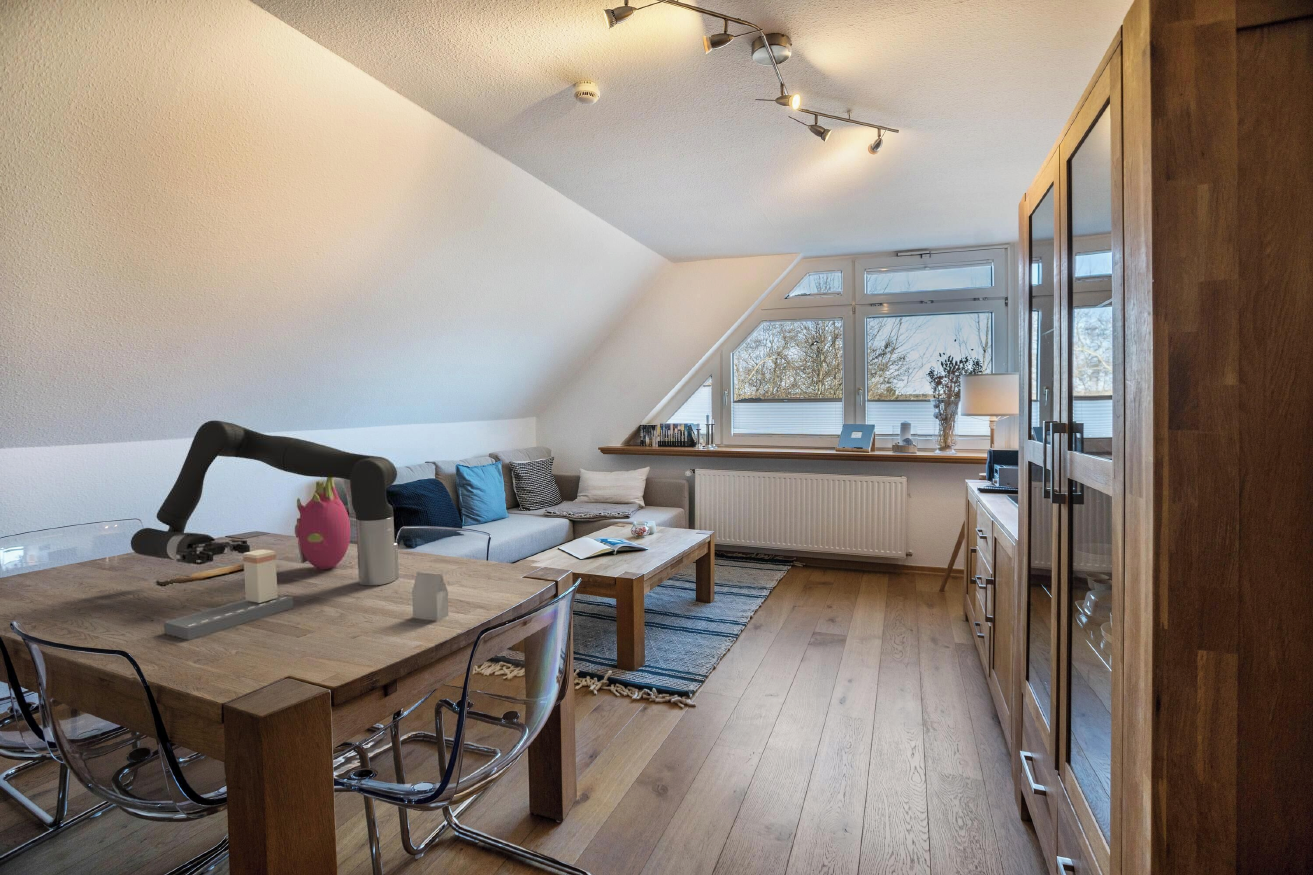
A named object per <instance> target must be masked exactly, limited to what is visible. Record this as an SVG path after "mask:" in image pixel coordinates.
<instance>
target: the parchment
mask: <svg viewBox="0 0 1313 875" xmlns="http://www.w3.org/2000/svg"><path fill="white" fill-rule="evenodd" d="M239 570H240V571H241V570H244V563H243V564H242V563H241V564H236V565H235V564H234V565H231V566H224V567H219V568H214V569H209V570H205V571H202V572H201V571H200V572H196V573H194V574H191V575H190V576H192V577H184V578H181V576H180V577H176V578H172V579H167V580H165V581H159V580H157V579H156V582H157V585H161V586H163V587H167V586H169V584H171V585H174V584H173V583H178V584H182V583H183V584H185V583H192V582H197V581H202V580H204V579H207V578H210V577H211V578H212V577H214V576H219V575H223V574H229V573H230V572H231V573H233V572H237V571H239ZM168 580H170V581H168ZM166 585H167V586H166Z"/></svg>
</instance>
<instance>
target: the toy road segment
mask: <svg viewBox="0 0 1313 875" xmlns="http://www.w3.org/2000/svg"><path fill="white" fill-rule="evenodd" d="M277 595H278V598H275V599H271V600H268V601H264V602H261V603H257V602H252V601H248V600H246V598H245V599H242V600H239V601H234V602H231V603H228V604H223V605H221V606H216V607H213V608H210V609H205V610H203V611H198V612H196V613H191V614H188V615H185V616H181V617H177V618H174V619H169V620H167V621H164V622H163V629H164V630H163V632H164V635H168V636H171V635H172V636H171V637H175V636H177V637H176V638H178V637H180V638H179V639H182V638H183V639H182V640H186V639H188V640H187V641H190V640H189V639H191V640H194V639H198V638H200V637H204V636H207V635H210V634H215V633H217V632H220V631H223V630H226V629H230V628H233V627H237V626H239V625H242V624H243V625H244V624H246V623H248V622H249V623H250V622H253V621H256V620H259V619H262V618H265V617H269V616H271V615H272V616H273V615H275V614H279V613H282V612H285V611H288V610H291V609H294V599H293V597H291V596H286V595H281V594H277Z"/></svg>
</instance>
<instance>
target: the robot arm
mask: <svg viewBox="0 0 1313 875" xmlns="http://www.w3.org/2000/svg"><path fill="white" fill-rule="evenodd" d="M217 457H225V458H226V457H227V458H239V459H247V460H254V461H258V462H261V463H263V464H266V465H267V466H270V467H272V468H275V469H277V470H280V471H283V472H285V473H291V474H294V475H299V476H304V477H313V478H327V477H329V478H333V479H343V480H349V486H350V496H351V505H352V510H353V511H354V513H355V526H356V548H357V571H358V574H357V575H358V584H359V585H361V586H379V585H381V586H382V585H385V584H389V583H393V582H394V581H396V580H397V579H400V572H399V570H400V569H399V546H398V543H397V542H395V526H394V525H395V524H394V508H393V506H392V505H391V504H390V503H389V502H388V499H387V489H388V488H390V487H391V486H392V485H393V484H394V483H395V481H397V478H398V470H397V468H396V466H395V464H394V463H393V462H392V461H391V460H389V459H388V458H386V457H383V456H378V455H377V456H375V455H366V454H359V453H355V452H354V453H353V452H348V451H344V450H340V449H338V448H335V447H331V446H328V445H323V444H320V443H317V442H314V441H309V440H305V439H300V438H295V437H290V436H284V435H270V434H269V435H268V434H266V433H265V434H264V433H261V432H257V431H254V430H252V429H249V428H247V427H243V426H241V425H238V424H236V423H233V422H228V421H227V422H226V421H223V420H209V421H206V422H204V423H203V424H201V425H200V426H199V428H198V429H197V431H196V433H195V435H194V437H193V439H192V442H191V445H190V446H189V450H188V453H187V455H186V457H185V460H184V461H183V465H182V467H181V469H180V472H179V474H178V475H177V476H178V477H177V478H176V480H175V482H174V484H173V486H172V488H171V489H170V491H169V492H168V494H167V495H166V498H165V499H164V501H163V503H162V504H161V506H160V507H159V509H158V511H157V512H156V519H157V520H158V521H159V522H160V523H162V524H164V525H167V526H168V529H167V530H162V529H157V528H151V527H144V528H141V529H139V530H138V531H136V532H135V533H134V534H133V535H132V537H131V539H130V547H131V549H132V551H133V552H134V553H135V554H137V555H140V556H146V557H151V558H158V559H162V560H165V559H166V560H172V561H176V562H178V563H182V564H188V565H190V564H191V565H200V566H201V565H205V564H208V563H211V562H214V558H219V557H223V556H225V557H226V556H231V555H233V554H243V553H247V552H251V548H250V547H251V546H250V545H249V544H248V540H246V539H245V540H244V539H233V538H232V539H229V540H224V541H220V540H216V539H215V538H214V537H213V536H211V535H209V534H206V533H198V532H185V530H186V527H187V524H188V521H189V520H190V518H191V517H192V514H193V513H194V511H195V510H196V508H197V506H198V505H199V502H200V500H201V497H202V495H203V489H204V488H203V487H204V481H205V479H206V478H205V477H206V474H207V472H208V469H209V468H210V466H211V465H212V463H213V462H214V461H215V459H217Z"/></svg>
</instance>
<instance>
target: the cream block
mask: <svg viewBox="0 0 1313 875" xmlns="http://www.w3.org/2000/svg"><path fill="white" fill-rule="evenodd" d="M242 555H243V556H242V562H243V564H244V569H243V572H244V589H245V599H246V600H248V601H252V602H257V603H261V602H264V601H268V600H271V599H275V598H278V595H279V594H278V583H277V582H278V579H277V563H276V559H277V558H276V557H277V556H276V551H275V550H269V549H264V548H263V549H256V550H250V551H249V552H247V553H242Z"/></svg>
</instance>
